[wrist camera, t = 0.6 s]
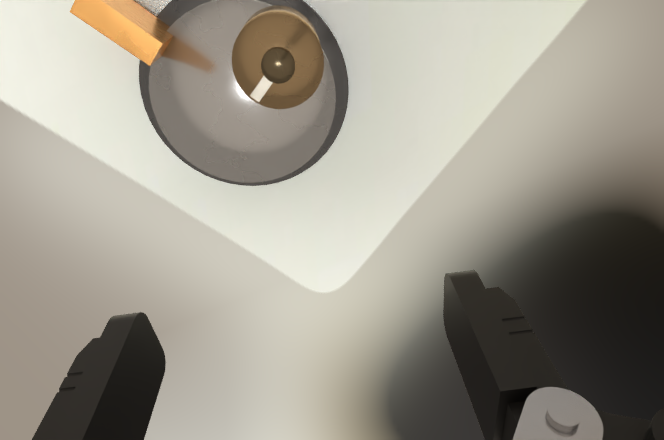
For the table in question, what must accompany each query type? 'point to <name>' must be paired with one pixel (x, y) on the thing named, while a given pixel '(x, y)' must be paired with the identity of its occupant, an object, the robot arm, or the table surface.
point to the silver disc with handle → (214, 90)
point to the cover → (278, 58)
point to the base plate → (183, 3)
